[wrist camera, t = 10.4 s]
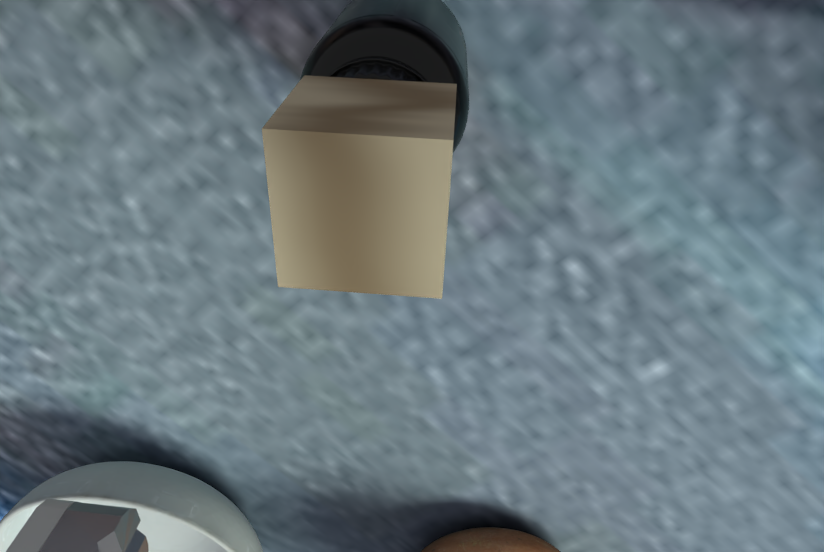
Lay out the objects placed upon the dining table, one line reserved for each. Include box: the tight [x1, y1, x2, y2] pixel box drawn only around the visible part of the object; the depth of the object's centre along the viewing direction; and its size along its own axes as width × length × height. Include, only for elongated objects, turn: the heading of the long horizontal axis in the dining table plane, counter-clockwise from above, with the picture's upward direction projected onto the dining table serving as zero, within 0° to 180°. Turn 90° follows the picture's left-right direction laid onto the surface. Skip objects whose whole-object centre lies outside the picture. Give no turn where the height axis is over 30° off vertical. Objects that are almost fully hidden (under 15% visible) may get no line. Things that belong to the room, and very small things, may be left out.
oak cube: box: [262, 75, 457, 299], centre depth 20 cm, size 5×5×5 cm
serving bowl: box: [0, 461, 263, 552], centre depth 51 cm, size 21×21×7 cm
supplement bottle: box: [300, 0, 469, 152], centre depth 27 cm, size 7×7×12 cm
